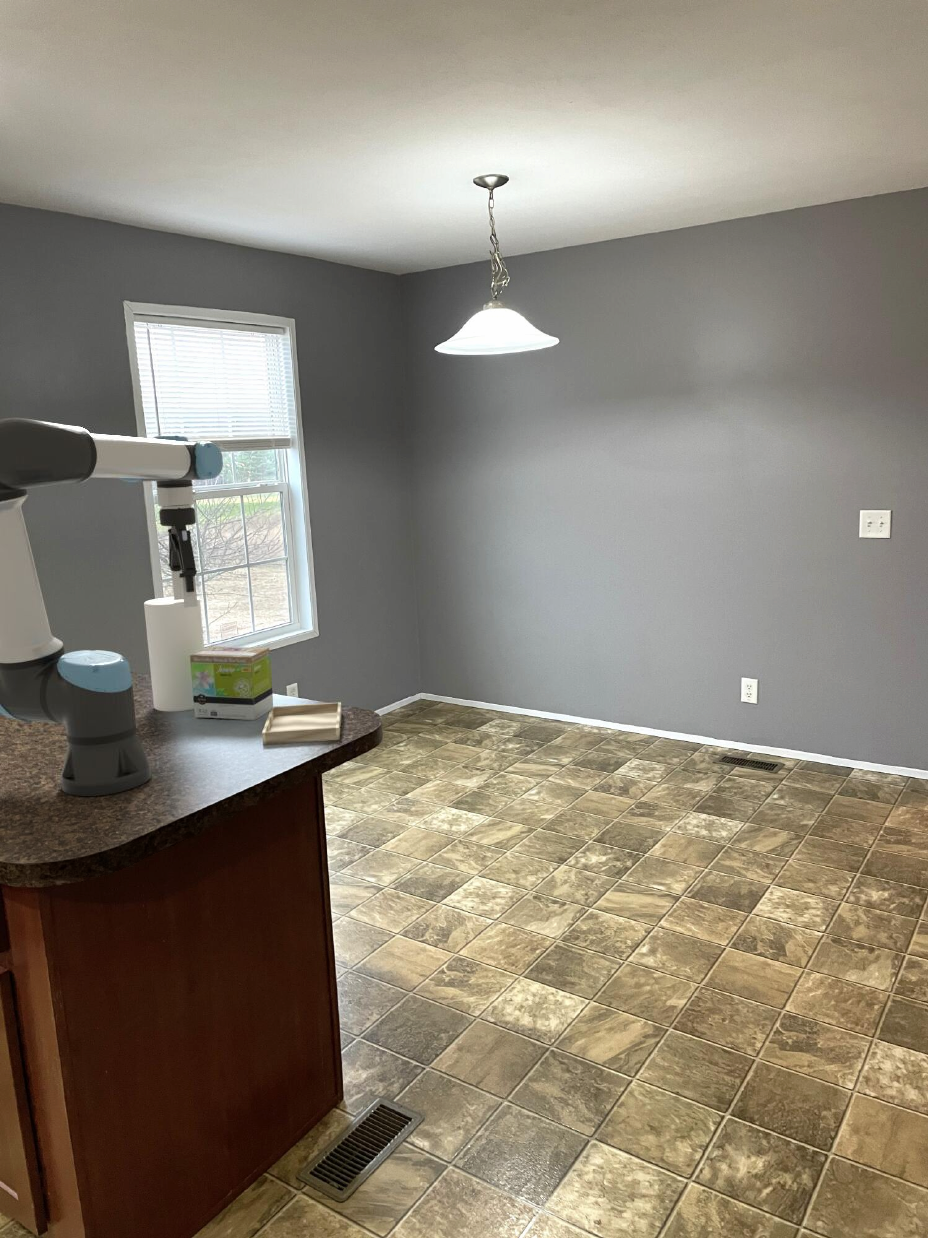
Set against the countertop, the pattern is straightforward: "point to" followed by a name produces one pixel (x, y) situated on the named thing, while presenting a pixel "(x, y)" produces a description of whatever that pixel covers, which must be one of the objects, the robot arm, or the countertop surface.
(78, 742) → the robot arm
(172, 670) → the cylinder
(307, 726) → the tray
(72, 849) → the countertop surface
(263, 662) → the tea box
